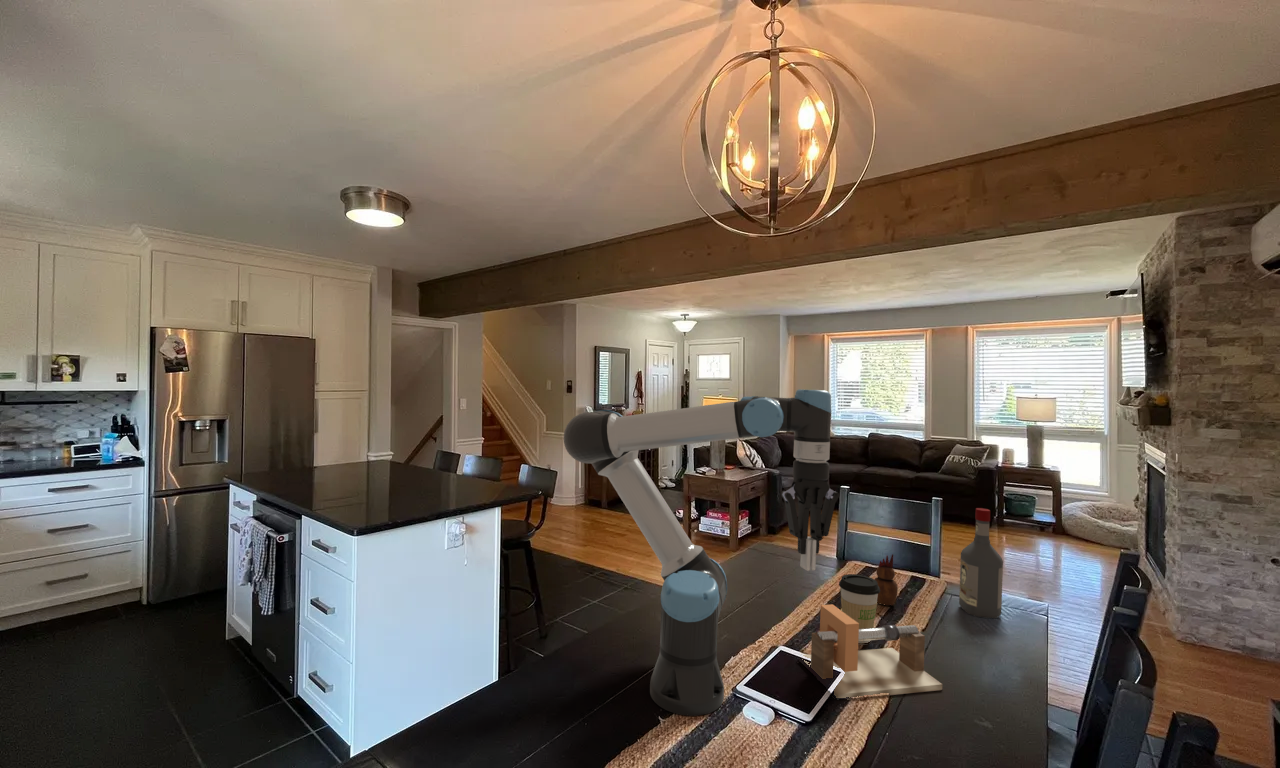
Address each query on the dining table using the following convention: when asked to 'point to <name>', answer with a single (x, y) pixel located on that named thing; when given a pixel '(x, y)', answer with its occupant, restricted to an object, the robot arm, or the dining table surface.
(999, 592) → the liquor
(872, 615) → the coffee cup
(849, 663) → the orange square ring
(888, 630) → the pipe
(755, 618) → the dining table surface
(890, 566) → the wooden figurine
